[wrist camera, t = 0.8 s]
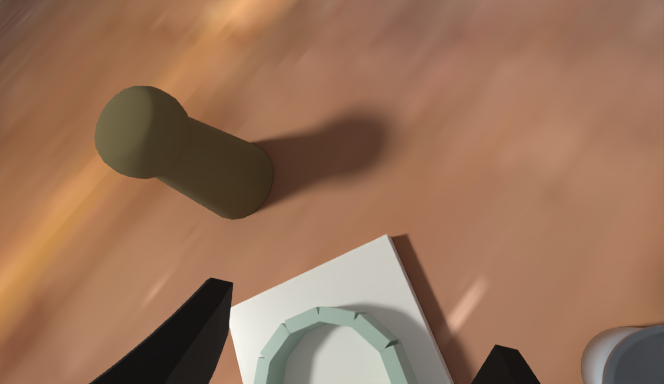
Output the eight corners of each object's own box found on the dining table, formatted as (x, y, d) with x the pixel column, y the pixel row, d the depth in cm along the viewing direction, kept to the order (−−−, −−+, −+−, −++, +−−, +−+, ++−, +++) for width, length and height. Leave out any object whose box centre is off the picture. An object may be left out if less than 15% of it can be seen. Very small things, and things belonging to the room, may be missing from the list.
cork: (254, 128, 32) (144, 47, 22) (286, 189, 30) (176, 126, 20) (196, 173, 33) (67, 113, 23) (221, 235, 31) (87, 196, 21)
